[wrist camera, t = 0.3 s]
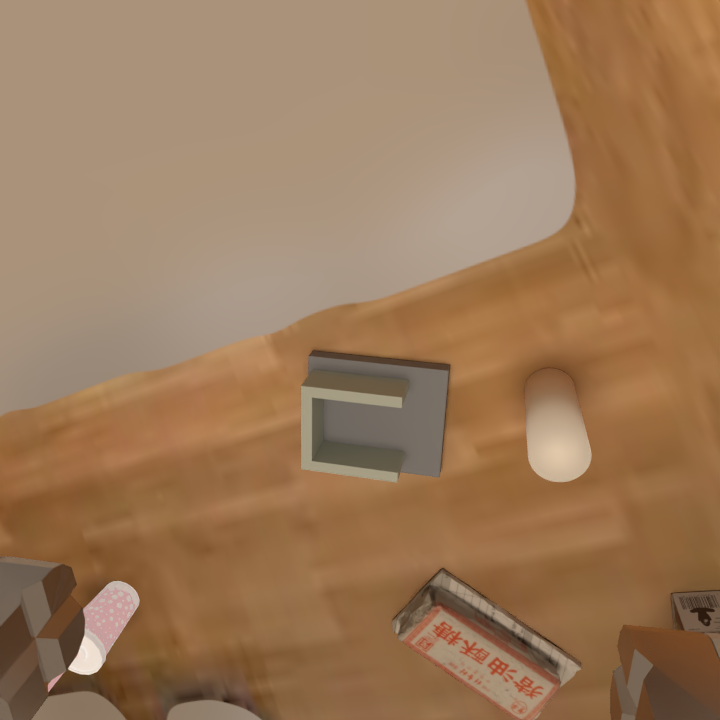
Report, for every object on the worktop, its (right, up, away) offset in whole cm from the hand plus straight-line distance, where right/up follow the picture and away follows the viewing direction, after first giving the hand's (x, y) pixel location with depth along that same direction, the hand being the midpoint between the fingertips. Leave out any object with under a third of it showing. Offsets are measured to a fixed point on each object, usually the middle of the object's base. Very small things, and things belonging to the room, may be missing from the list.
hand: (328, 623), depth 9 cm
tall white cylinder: (+17, +1, +48) cm, 51 cm away
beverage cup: (-28, -25, +68) cm, 78 cm away
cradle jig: (+2, -1, +52) cm, 52 cm away
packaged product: (+14, -26, +60) cm, 67 cm away
